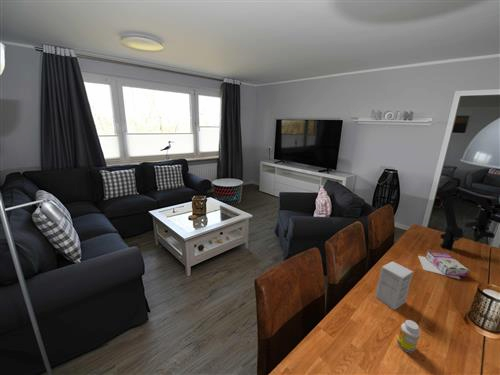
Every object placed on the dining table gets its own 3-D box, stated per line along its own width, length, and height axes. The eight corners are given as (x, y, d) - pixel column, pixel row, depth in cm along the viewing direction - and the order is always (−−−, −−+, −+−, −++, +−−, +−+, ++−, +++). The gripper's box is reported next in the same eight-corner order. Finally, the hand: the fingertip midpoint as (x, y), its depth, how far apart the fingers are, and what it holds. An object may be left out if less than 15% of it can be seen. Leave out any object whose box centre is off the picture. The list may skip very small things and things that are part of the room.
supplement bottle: (397, 336, 87) (404, 315, 84) (415, 345, 84) (422, 323, 81) (395, 346, 83) (401, 324, 80) (413, 356, 80) (421, 334, 77)
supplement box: (405, 303, 104) (414, 271, 99) (395, 310, 99) (403, 278, 95) (384, 289, 112) (392, 260, 107) (374, 296, 107) (381, 265, 102)
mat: (418, 256, 143) (418, 255, 142) (450, 263, 136) (450, 263, 136) (424, 270, 129) (424, 269, 129) (460, 279, 122) (460, 278, 122)
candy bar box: (425, 258, 140) (444, 275, 124) (427, 251, 139) (447, 267, 123) (444, 259, 139) (466, 277, 123) (446, 252, 138) (469, 269, 122)
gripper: (460, 209, 144) (453, 231, 148) (472, 220, 128) (464, 244, 132) (483, 213, 139) (475, 236, 144) (499, 224, 123) (489, 250, 128)
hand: (475, 241), depth 137 cm, fingers closed
